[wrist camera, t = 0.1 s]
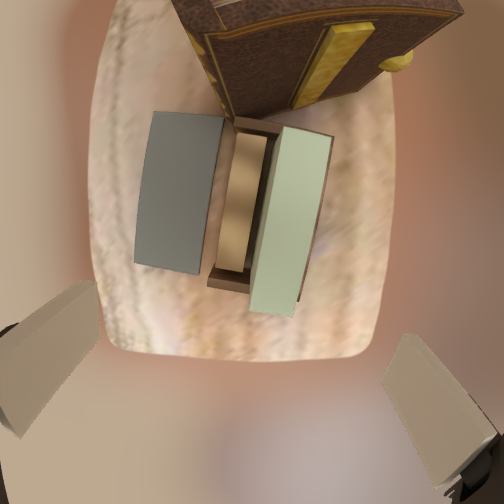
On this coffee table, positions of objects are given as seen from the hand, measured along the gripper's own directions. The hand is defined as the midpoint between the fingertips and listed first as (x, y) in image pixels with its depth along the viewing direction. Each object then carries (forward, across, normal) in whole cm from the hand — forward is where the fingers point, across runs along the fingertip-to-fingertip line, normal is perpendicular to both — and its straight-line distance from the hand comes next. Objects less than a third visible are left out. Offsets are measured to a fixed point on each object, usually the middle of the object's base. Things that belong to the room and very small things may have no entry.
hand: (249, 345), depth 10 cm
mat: (+28, -11, +3) cm, 30 cm away
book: (+28, +2, +21) cm, 35 cm away
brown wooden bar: (+28, -2, +3) cm, 28 cm away
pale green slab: (+28, +3, +3) cm, 28 cm away
